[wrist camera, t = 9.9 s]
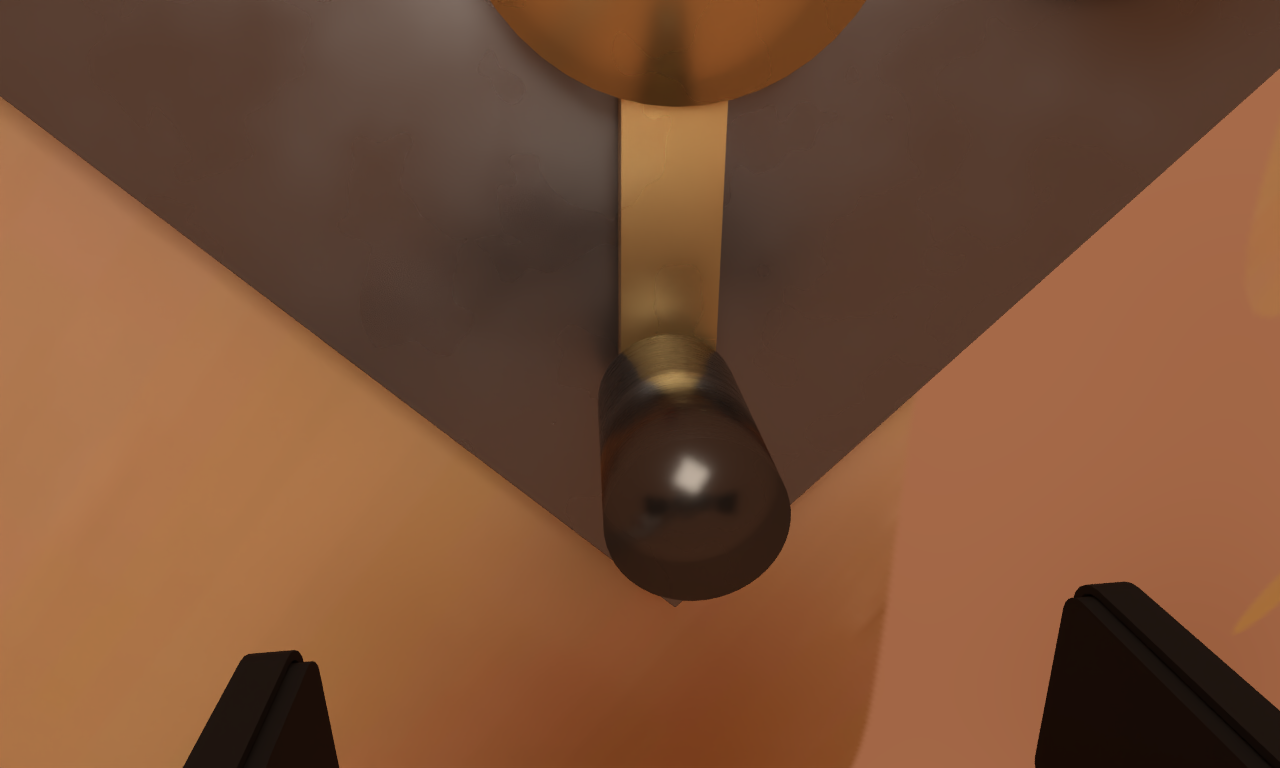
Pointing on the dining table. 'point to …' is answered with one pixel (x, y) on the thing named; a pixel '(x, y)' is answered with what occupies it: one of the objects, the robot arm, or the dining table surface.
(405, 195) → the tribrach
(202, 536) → the dining table surface
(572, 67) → the crank dial
